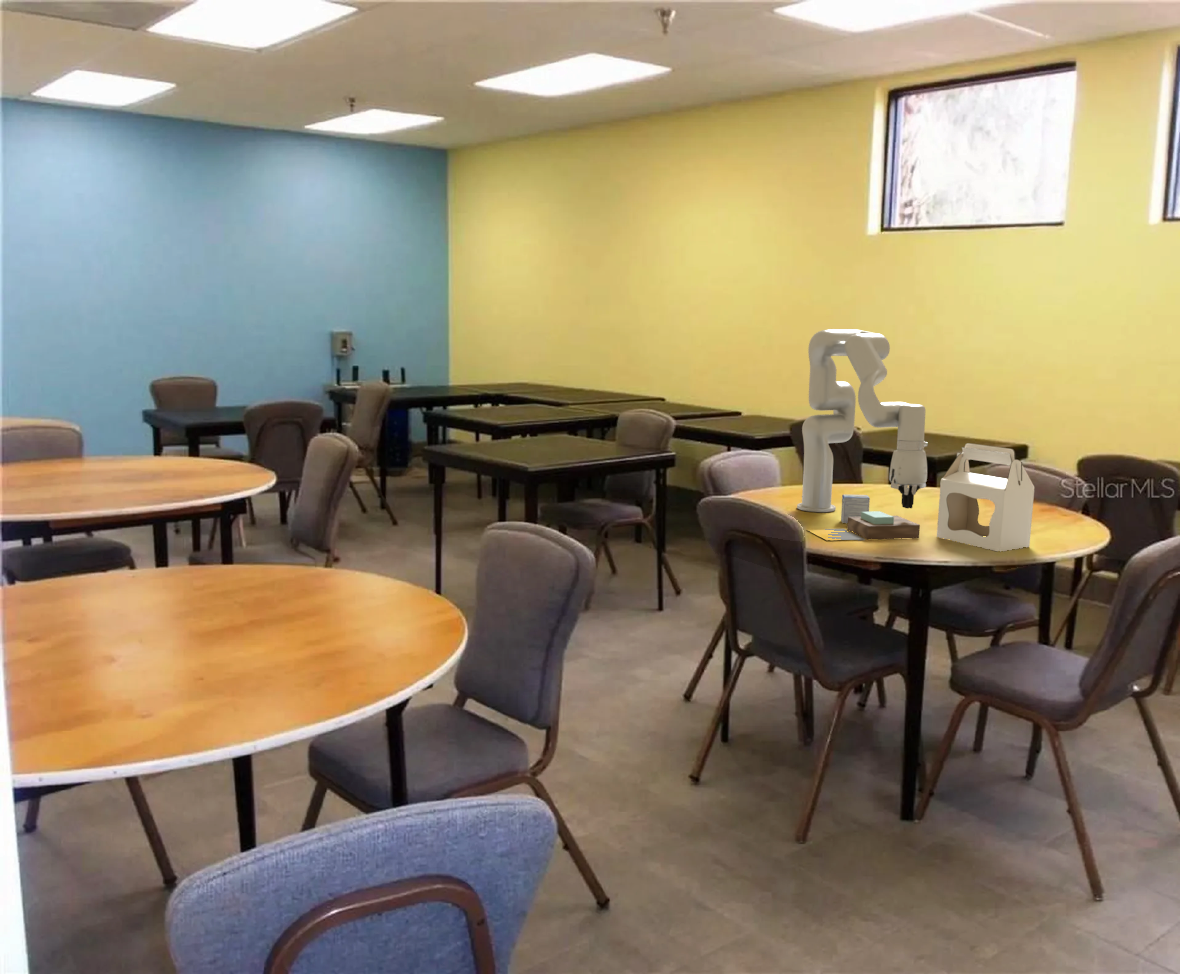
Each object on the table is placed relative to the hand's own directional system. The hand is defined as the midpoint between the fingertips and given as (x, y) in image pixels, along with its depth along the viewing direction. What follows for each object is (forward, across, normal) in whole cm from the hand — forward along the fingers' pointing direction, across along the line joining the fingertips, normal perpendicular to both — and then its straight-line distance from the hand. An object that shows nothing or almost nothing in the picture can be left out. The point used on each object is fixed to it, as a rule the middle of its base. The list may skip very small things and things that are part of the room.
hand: (907, 507), depth 304 cm
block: (+4, +9, -1) cm, 10 cm away
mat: (+8, +22, -1) cm, 24 cm away
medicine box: (+8, +8, -18) cm, 21 cm away
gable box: (+9, -17, +13) cm, 23 cm away
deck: (+8, +7, -1) cm, 11 cm away
